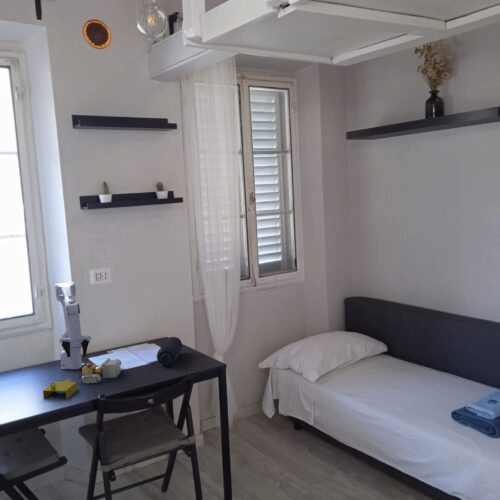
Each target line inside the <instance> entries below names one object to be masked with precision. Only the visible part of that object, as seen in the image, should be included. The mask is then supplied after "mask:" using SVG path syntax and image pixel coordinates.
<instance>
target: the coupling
mask: <svg viewBox="0 0 500 500" xmlns="http://www.w3.org/2000/svg"><path fill="white" fill-rule="evenodd" d="M121 366H122V361H121V359H117V358H116V359H111V358H106V360H104V362H102V363H101V367H102V374H101V377H102V379H103V378H104V379H111V378H112V379H113V378H117V377H118V376H119V375H120V374H121V373H122V370H121Z"/></svg>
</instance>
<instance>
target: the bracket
mask: <svg viewBox="0 0 500 500" xmlns="http://www.w3.org/2000/svg"><path fill="white" fill-rule="evenodd" d="M53 392H65V396H66V397H65V398H66V400H67V399H69V398H70V397H71V396H72V395H74V393H76V392H78V383H77V381H72V378H66V380H65V381H54V382H51V383H50V385H49V386H48V387H46V388H45V389H44V390H42V395H43V399H46V398H47V397H48V396H49V395H51V394H52V393H53Z"/></svg>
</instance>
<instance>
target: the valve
mask: <svg viewBox="0 0 500 500" xmlns="http://www.w3.org/2000/svg"><path fill="white" fill-rule="evenodd" d="M81 371H82V376H85V375H86V374H99V375H102V366H97V364H93V362H88V363H85V364H84V365H83V366H82V367H81Z"/></svg>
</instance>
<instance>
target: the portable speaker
mask: <svg viewBox="0 0 500 500" xmlns="http://www.w3.org/2000/svg"><path fill="white" fill-rule="evenodd" d="M182 349H183V342H182V341H181V339H180V338H179V337H177V336H169V337H168V338H166V339H165V341H164V342H163V343H162V345H161V346H160V348H159V349H158V351H157V353H156V360H157V362H158V363H159V365H161V366H164V367H171V366H172V365H174V364H175V363H176V361H177V359H178V358H179V355H180V354H181V352H182Z"/></svg>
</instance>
